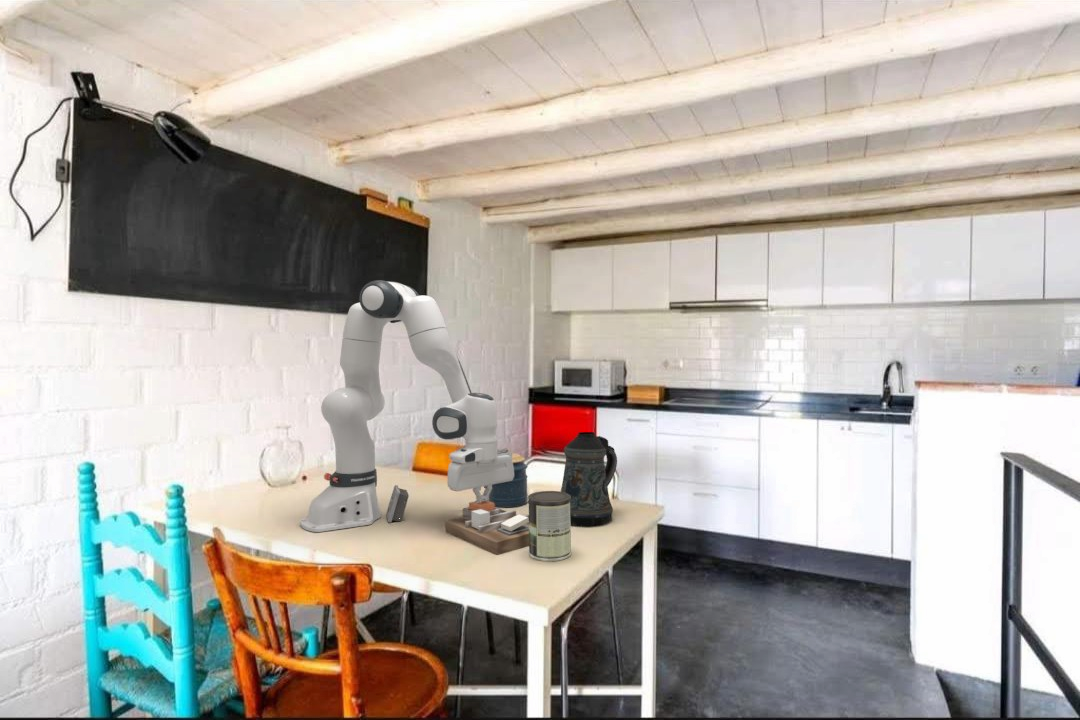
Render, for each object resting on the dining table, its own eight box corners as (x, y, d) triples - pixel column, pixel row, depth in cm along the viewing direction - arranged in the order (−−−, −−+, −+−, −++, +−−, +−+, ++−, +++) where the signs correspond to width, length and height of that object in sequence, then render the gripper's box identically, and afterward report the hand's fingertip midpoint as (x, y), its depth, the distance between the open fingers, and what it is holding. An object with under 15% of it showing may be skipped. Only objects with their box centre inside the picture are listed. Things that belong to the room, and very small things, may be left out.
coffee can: (519, 555, 139) (519, 496, 139) (546, 544, 147) (546, 488, 147) (553, 565, 133) (553, 503, 133) (579, 552, 141) (579, 494, 141)
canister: (502, 495, 197) (502, 444, 197) (535, 500, 190) (534, 446, 190) (479, 504, 186) (479, 449, 186) (513, 510, 179) (512, 453, 179)
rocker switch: (510, 531, 146) (510, 526, 146) (501, 527, 149) (500, 523, 149) (529, 521, 149) (528, 517, 149) (519, 518, 153) (518, 514, 152)
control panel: (496, 554, 140) (496, 532, 140) (445, 531, 158) (445, 511, 158) (553, 538, 151) (552, 517, 151) (498, 518, 170) (498, 500, 170)
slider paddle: (480, 529, 149) (480, 514, 149) (471, 526, 152) (471, 511, 152) (489, 527, 151) (489, 512, 151) (481, 524, 154) (480, 509, 154)
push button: (479, 515, 157) (479, 506, 157) (469, 511, 161) (469, 502, 161) (494, 511, 160) (494, 502, 160) (484, 508, 164) (484, 499, 164)
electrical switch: (386, 515, 175) (388, 484, 175) (403, 515, 177) (406, 484, 177) (388, 524, 166) (391, 491, 166) (406, 523, 168) (409, 491, 168)
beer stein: (546, 523, 165) (545, 435, 165) (573, 506, 183) (572, 427, 182) (601, 530, 158) (600, 438, 158) (623, 512, 176) (623, 429, 175)
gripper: (505, 446, 169) (505, 493, 170) (443, 455, 156) (444, 506, 156) (518, 448, 165) (519, 497, 165) (456, 458, 151) (457, 511, 152)
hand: (482, 501), depth 160 cm, fingers closed
